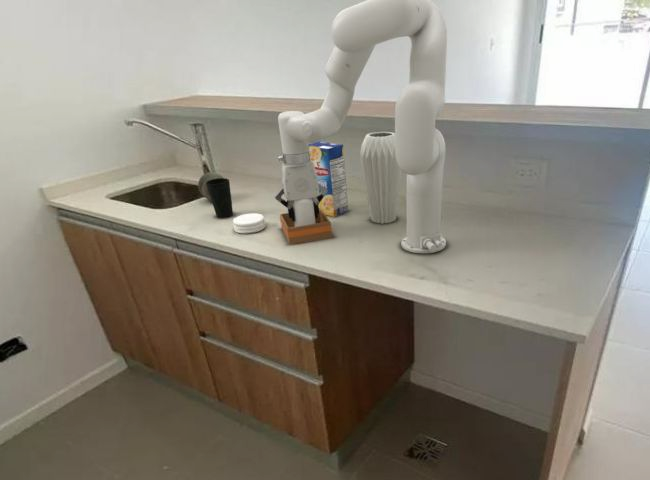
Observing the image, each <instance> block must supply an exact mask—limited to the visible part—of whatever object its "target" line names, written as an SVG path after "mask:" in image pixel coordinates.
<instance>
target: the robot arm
mask: <svg viewBox="0 0 650 480" xmlns="http://www.w3.org/2000/svg"><path fill="white" fill-rule="evenodd" d="M330 32H331V39H332V41H333V44H334V47H333V49H332V52H331V54H330V56H329V58H328V60H327V63H326V65H325V67H324V68H325V69H324V72H325V75H326V77H327V78H328V81H329V83H328V84H329V86H328V90H327V93H326V96H325V98H324V100H323V102H322V104H321V106H320V108H318V109H316V110H313V111H311V112H307V113H304V112H303V111H300V110H287V111H283V112H280V113H279V114H278V117H277V122H278V129H279V136H280V143H281V144H280V145H281V150H282V152H281V155H279V156H277V158H278V162H283V163H282V164H281V181H282V183H281V184H282V187H280V189H279V190H278V191H277V192H276V194H275V195H274V198H275V200H276V201H277V202H278V203H280V204H281V205H282V206H284V208H286V209H287V213H288V215H289V219H291V220H292V221H293V222H294V221H295V217H294V210H293V208H292V204H293V201H295V200H300V199H309V198H312V199H313V204H314V212H315V218H318V214H319V206H318V205H319V203H320V201H321V200H322V199H323V197H324V196H325V194H326V193H327V189H326V188H324V187H323V186H322V185H320V184H319V183H318V180H317V174H316V170H315V166H314V163H313V162H312V161H310V153H309V144H312V143H317V142H323V141H324V140H326V139H328V138H330V137H333V136H334V135H335V134H336V133H338V131H339V130H340V129H341V127H342V125H343V123H344V121H345V119H346V117H347V115H348V113H349V111H350V109H351V106H352V104H353V99H354V95H355V89H356V86H357V82H358V81H359V79H360V77H361V75H362V73H363V72H364V69H365V67H366V65H367V63H368V61H369V59H370V57H371V55H372V53H373V51H374V49H375V47H376V45H379V44H381V43H385V42H387V41H390V40H391V41H392V40H394V39H398V38H404V37H409V39H410V42H411V43H410V44H411V47H410V52H409V53H410V54H409V79H408V84H407V85H406V86H405V87H403V89H401V91H400V92H399V94H398V96H397V99H396V103H395V109H394V133H395V156H396V161H397V163H398V166H399V167H400V168H401V170H402V172H403V173H404V174H406V183H405V185H406V186H405V187H406V189H405V191H406V193H405V194H406V197H405V199H406V200H405V203H406V236H404V237H403V238H402V239H401V242H400V243H401V248H402V249H403V250H405V251H407V252H409V253H412V254H421V255H422V254H423V255H424V254H435V253H438V252H440V251H442V250H444V249H445V248H446V247H447V241H446V238H444V236H441V235H442V207H443V203H442V202H443V182H444V181H443V180H444V168H445V167H444V166H445V159H446V141H445V138H444V136H443V134H442V132H441V131H440V130H439V129H437V128H436V119H437V118H438V117H439V116H441V114H442V112H443V110H444V108H445V103H446V80H447V79H446V78H447V77H446V76H447V50H448V31H447V25H446V21H445V18H444V16H443V13H442V12H441V10H440V8H439V7H438V6H437V5H436V4H435V2H433V1H432V0H364V1H361V2H360V3H357V4H354V5H351V6H348V7H346V8H344V9H342V10H341V11H339V12H338V13H337V14H336V16H335V17H334V19H333V21H332V23H331V30H330ZM319 189H320V190H321V192H320V194H319ZM282 196H284V198H285V199H286V200H285V199H284V198H283V197H282Z"/></svg>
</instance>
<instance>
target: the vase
mask: <svg viewBox="0 0 650 480" xmlns="http://www.w3.org/2000/svg"><path fill="white" fill-rule="evenodd" d="M364 136H365V137H364V138H363V141H362V143H361V146H360V153H359V159H360V164H361V170H362V177H363V181H364V186H365V193H366V198H367V203H368V209H369V214H370V220H371V221H372V222H373V223H375V224H376V223H377V224H382V225H383V224H390V223H393V222H395V221H396V220H397V217H398V216H397V215H398V206H399V198H400V189H401V181H402V180H401V179H402V172H403V171H402V170H401V168H400V167H399V166H398V163H397V161H396V156H395V132H391V131H377V132H375V131H374V132H370V133H367V134H366V135H364Z"/></svg>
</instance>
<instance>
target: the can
mask: <svg viewBox="0 0 650 480" xmlns="http://www.w3.org/2000/svg"><path fill="white" fill-rule="evenodd" d="M292 208H293V210H294V217H295V221H294V224H295V227H297V226H304V225H310V224H316V221H315V212H314V204H313V199H312V198H309V199H300V200H295V201H293V204H292Z"/></svg>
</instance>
